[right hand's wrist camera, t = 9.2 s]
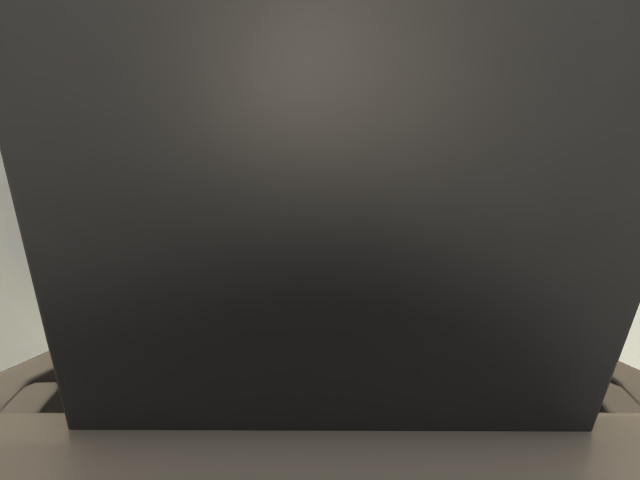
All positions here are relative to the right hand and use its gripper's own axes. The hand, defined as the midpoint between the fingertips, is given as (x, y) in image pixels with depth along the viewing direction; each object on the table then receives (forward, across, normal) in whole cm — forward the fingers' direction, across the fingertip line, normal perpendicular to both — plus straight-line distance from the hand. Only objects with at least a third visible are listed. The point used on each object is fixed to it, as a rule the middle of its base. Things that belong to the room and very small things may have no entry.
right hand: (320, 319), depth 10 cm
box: (+6, 0, -9) cm, 11 cm away
